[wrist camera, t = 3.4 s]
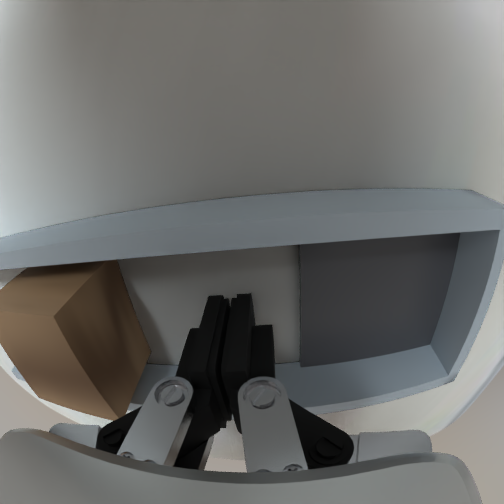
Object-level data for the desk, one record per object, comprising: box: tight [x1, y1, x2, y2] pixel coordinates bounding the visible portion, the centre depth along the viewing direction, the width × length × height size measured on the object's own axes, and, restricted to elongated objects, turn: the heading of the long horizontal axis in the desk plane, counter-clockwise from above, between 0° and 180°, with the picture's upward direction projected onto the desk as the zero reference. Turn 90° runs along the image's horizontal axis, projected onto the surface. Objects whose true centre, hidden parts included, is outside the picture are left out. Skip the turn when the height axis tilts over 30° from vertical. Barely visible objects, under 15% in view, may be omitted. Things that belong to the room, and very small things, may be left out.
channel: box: [0, 188, 504, 419], centre depth 11 cm, size 10×29×3 cm, turn 96°
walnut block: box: [0, 259, 151, 421], centre depth 10 cm, size 6×6×5 cm
